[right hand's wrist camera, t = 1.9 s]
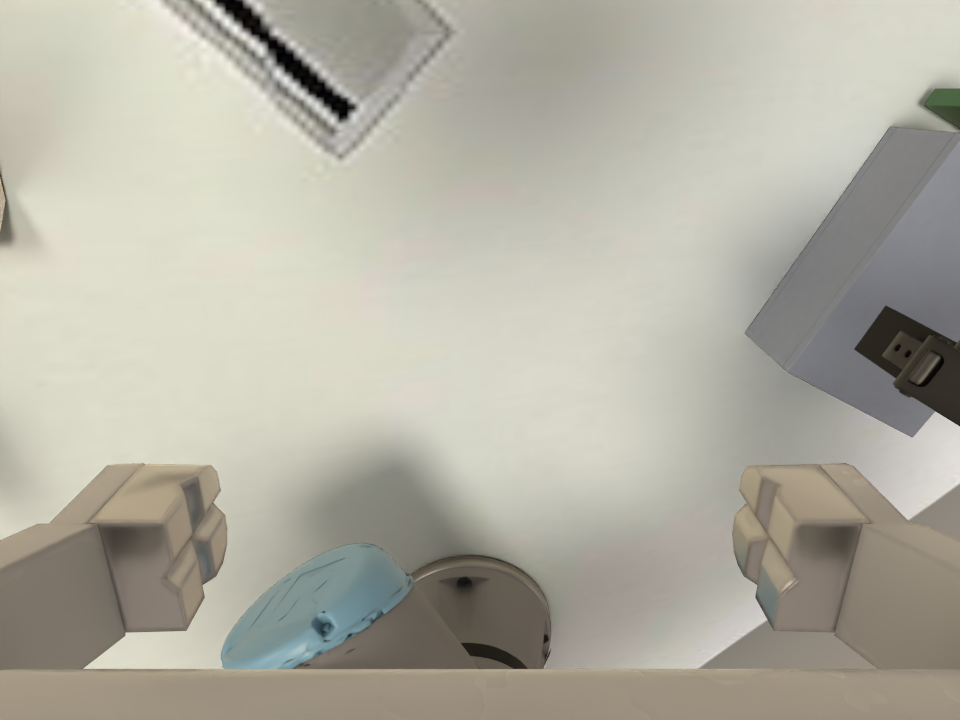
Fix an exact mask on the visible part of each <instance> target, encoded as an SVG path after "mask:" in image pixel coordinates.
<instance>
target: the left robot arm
mask: <svg viewBox="0 0 960 720" xmlns="http://www.w3.org/2000/svg"><path fill="white" fill-rule="evenodd" d="M854 350H855V351H857V352H858V353H860V354H861V355H863V356H864V357H866V358H867V359H868V360H870V361H871V362H873V363H874V364H876V365H877V366H879V367H880V368H881V369H883V370H884V371H886V372H887V373H889V374H890V375H892V376H893V377H894V378H896V380H895V381H894V382H893V385H894V387H895V388H896V389H898V390H899V391H898V392H900V393H901V394H903V395H905V396H907V397H909V398H910V397H913V398H915V399H916V400H918V401H920V402H921V403H923V404H925V405H926V406H928V407H929V408H931V409H933V410H934V411H936V412H938V413H939V414H941V415H942V416H944V417H946V418H947V419H949V420H951V421H952V422H954V423H955V424H957V425H959V426H960V340H959V341H958V342H955V341H953V340H951V339H949V338H947V337H945V336H944V335H942V334H940V333H938V332H936V331H934V330H932V329H930V328H928V327H927V326H925V325H923V324H921V323H919V322H917V321H915V320H913V319H911V318H909V317H908V316H906V315H904V314H902V313H900V312H898V311H896V310H894V309H892V308H890V307H888V306H886V305H885V307H884V308H883V310H882V311H881V312H880V314H879V315H878V317H877V318H876V319H875V321H874V322H873V323H872V325H871V326H870V328H869V329H868V330H867V332H866V333H865V335H864V336H863V337H862V339H861V340H860V341H859V343H858V344H857V346H856V347H855V348H854ZM550 637H551V622H550V615H549V609H548V605H547V602H546V599H545V597H544V595H543V593H542V592H541V590H540V589H539V587H538V586H537V585H536V584H535V582H534V581H533V580H532V579H531V578H530V577H528V576H527V575H526V574H525V573H523V572H522V571H520V570H519V569H517V568H515V567H513V566H512V565H509V564H507V563H505V562H502V561H499V560H496V559H491V558H487V557H480V556H458V557H451V558H446V559H442V560H439V561H436V562H433V563H431V564H428V565H426V566H424V567H422V568H421V569H419V570H417V571H416V572H414V573H413V574H412V575H410V574H408V573H405V572H404V571H403V570H402V569H401V568H400V567H399V565H398V564H397V563H396V562H395V561H394V560H393V559H392V558H391V557H390V556H389V555H388V553H387V552H386V551H384V550H383V549H380V548H378V547H377V546H375V545H372V544H367V543H356V544H348V545H344V546H341V547H338V548H335V549H332V550H330V551H327V552H325V553H323V554H321V555H319V556H317V557H315V558H313V559H311V560H309V561H308V562H306V563H304V564H303V565H301V566H299V567H298V568H296V569H295V570H293V571H292V572H291V573H289V574H288V575H286V576H285V577H284V578H283V579H281V580H280V581H278V582H277V583H276V584H275V585H273V586H272V587H271V588H270V589H269V590H267V591H266V592H265V593H264V594H263V595H262V596H261V597H260V598H259V599H258V600H257V601H256V602H255V603H254V604H253V605H252V606H251V607H250V608H249V609H248V610H247V611H246V612H245V613H244V615H243V616H242V617H241V618H240V619H239V621H238V622H237V623H236V624H235V626H234V627H233V629H232V630H231V632H230V633H229V635H228V637H227V638H226V640H225V643H224V645H223V648H222V652H221V660H222V667H223V669H543V667H544V665H545V663H546V661H547V659H548V657H549V654H550V652H549V654H548V650H549V646H550ZM550 651H551V650H550ZM547 654H548V656H547ZM546 656H547V658H546Z"/></svg>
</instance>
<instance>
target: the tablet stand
mask: <svg viewBox="0 0 960 720" xmlns="http://www.w3.org/2000/svg"><path fill="white" fill-rule="evenodd" d="M5 201H6V200H5V196H4V192H3V188H2V183H1V179H0V230H1V224H2V218H3V212H4V206H5Z"/></svg>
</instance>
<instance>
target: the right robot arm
mask: <svg viewBox="0 0 960 720" xmlns="http://www.w3.org/2000/svg"><path fill="white" fill-rule="evenodd" d="M220 491H221V489H220V484H219V479H218V474H217V471H216V470H215V469H214V468H213V467H212V466H211V465H173V464H147V465H146V464H143V463H141V464H113V465H107V466H106V467H105V468H104V469H103V470H102V471H101V472H100V473H99V474H98V475H97V476H96V477H95V478H94V479H93V480H92V481H91V482H90V483H89V484H88V485H87V486H86V487H85V488H84V489H83V490H82V491H81V492H80V493H79V494H78V495H77V496H76V497H75V498H74V499H73V500H72V501H71V502H70V503H69V504H68V505H67V506H66V507H65V508H64V509H63V510H62V511H61V512H60V513H59V514H58V515H57V516H56V517H55V518H54V519H53V520H52V521H51V522H50V523H49V524H36V525H34V526H32V527H30V528H27V529H25V530H23V531H20V532H18V533H16V534H14V535H11V536H9V537H7V538H4V539H2V540H0V720H960V540H958V539H955V538H953V537H951V536H949V535H946V534H944V533H942V532H940V531H937V530H935V529H933V528H930V527H928V526H926V525H923V524H911V523H910V522H909V521H908V520H907V519H906V518H905V517H904V516H903V515H902V514H901V513H900V512H899V511H898V510H897V509H896V508H895V507H894V506H893V505H892V504H891V503H890V502H889V501H888V500H887V499H886V498H885V497H884V496H883V495H882V494H881V493H880V492H879V491H878V490H877V489H876V488H875V487H874V486H873V485H872V484H871V483H870V482H869V481H868V480H867V479H866V478H865V477H864V476H863V475H862V474H861V473H860V472H859V471H858V470H857V469H856V468H855V467H854V466H851V465H848V464H846V463H839V464H808V465H768V466H747V467H746V468H745V470H744V472H743V475H742V478H741V483H740V488H739V491H740V492H741V494H742V496H743V497H744V499H745V500H746V502H747V503H746V504H745V505H744V506H743V507H742V508H741V509H740V510H739V511H738V512H737V513H736V514H735V518H734V526H733V546H734V553H735V557H736V560H737V563H738V566H739V568H740V570H741V571H742V573H743V575H744V577H746V578H747V579H749V580H751V581H752V582H754V583H755V584H757V585H758V586H757V591H756V597H755V598H756V599H757V601H758V603H759V605H760V607H761V608H762V610H763V612H764V614H765V616H766V617H767V619H768V621H769V623H770V625H771V626H772V628H773V630H774V631H799V632H835V636H836V637H837V638H839V639H840V640H841V641H843V642H844V643H845V644H846V645H848V646H849V647H850V648H852V649H853V650H854V651H855V652H857V653H858V654H859V655H861V656H862V657H863V658H864V659H866V660H867V661H868V662H870V663H871V664H872V665H874V666H875V667H876V668H877V669H83V668H84V667H86V666H87V665H88V664H89V663H91V662H92V661H93V660H95V659H96V658H97V657H98V656H100V655H101V654H102V653H104V652H105V651H106V650H107V649H109V648H110V647H111V646H113V645H114V644H115V643H116V642H118V641H119V640H120V639H122V638H123V637H124V636H125V632H159V631H186V630H187V628H188V627H189V625H190V623H191V621H192V619H193V617H194V616H195V614H196V612H197V610H198V608H199V607H200V605H201V603H202V601H203V599H204V598H205V597H204V591H203V586H202V585H203V584H205V583H206V582H208V581H209V580H211V579H213V578H214V577H216V575H217V573H218V571H219V569H220V567H221V565H222V564H223V560H224V556H225V551H226V547H227V524H226V518H225V514H224V513H223V512H222V511H221V510H220V509H219V508H218V507H217V506H216V505H215V504H214V503H213V502H214V500H215V499H216V497H217V496H218V494H219V492H220Z"/></svg>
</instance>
